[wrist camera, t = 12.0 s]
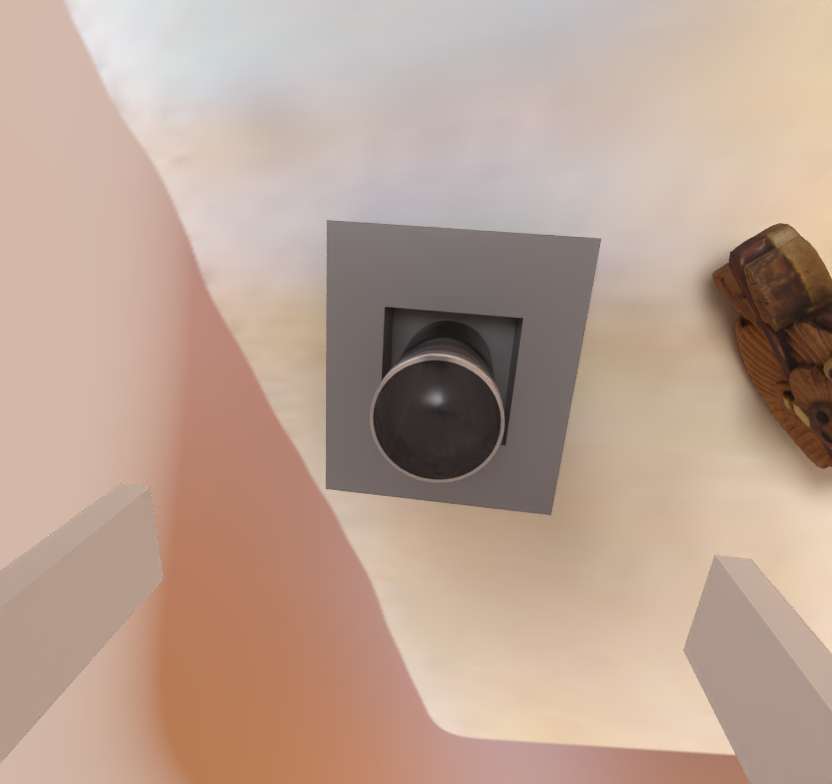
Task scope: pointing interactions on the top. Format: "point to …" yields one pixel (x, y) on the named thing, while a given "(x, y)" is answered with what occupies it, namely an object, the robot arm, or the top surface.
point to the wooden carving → (786, 331)
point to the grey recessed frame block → (480, 309)
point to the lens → (439, 405)
